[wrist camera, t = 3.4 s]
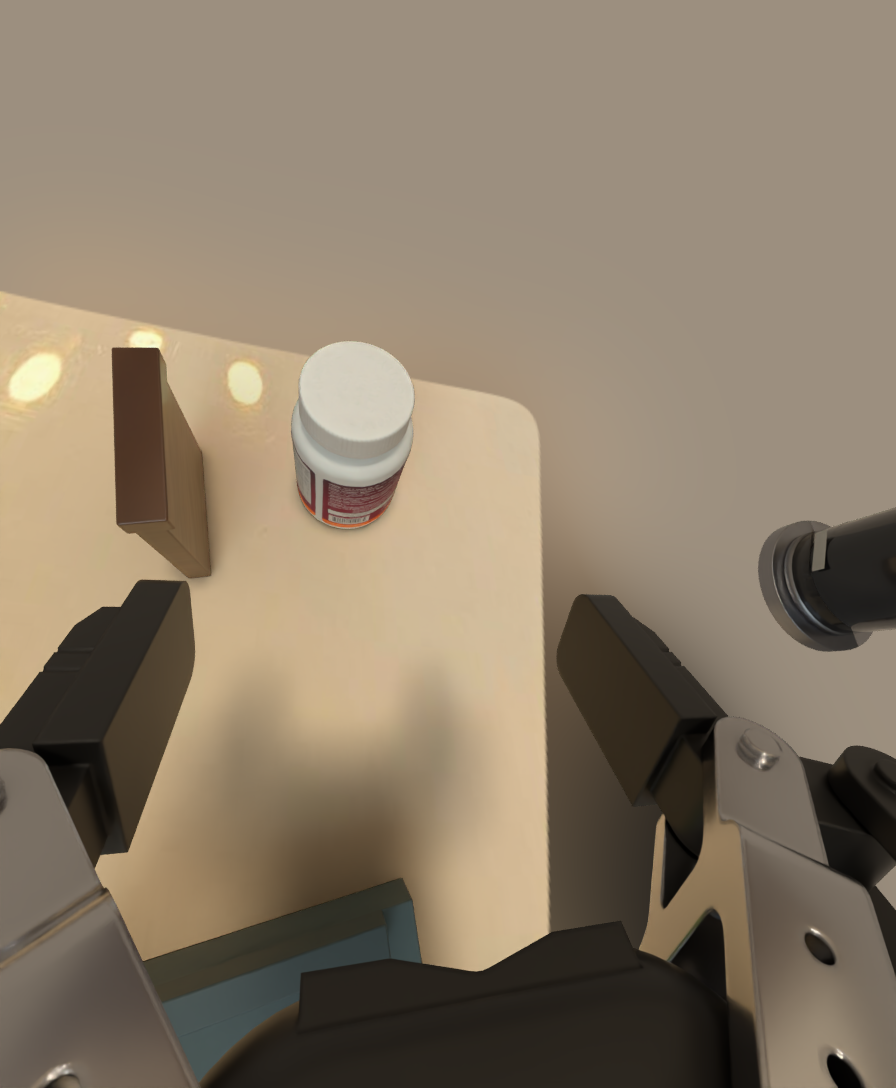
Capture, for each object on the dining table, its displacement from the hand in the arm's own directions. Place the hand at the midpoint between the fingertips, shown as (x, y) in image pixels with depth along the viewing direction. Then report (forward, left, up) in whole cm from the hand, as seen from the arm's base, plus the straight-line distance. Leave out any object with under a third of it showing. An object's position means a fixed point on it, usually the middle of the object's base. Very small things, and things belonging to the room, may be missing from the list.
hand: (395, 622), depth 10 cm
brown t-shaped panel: (+7, -10, -20) cm, 24 cm away
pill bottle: (-2, -11, -20) cm, 23 cm away
